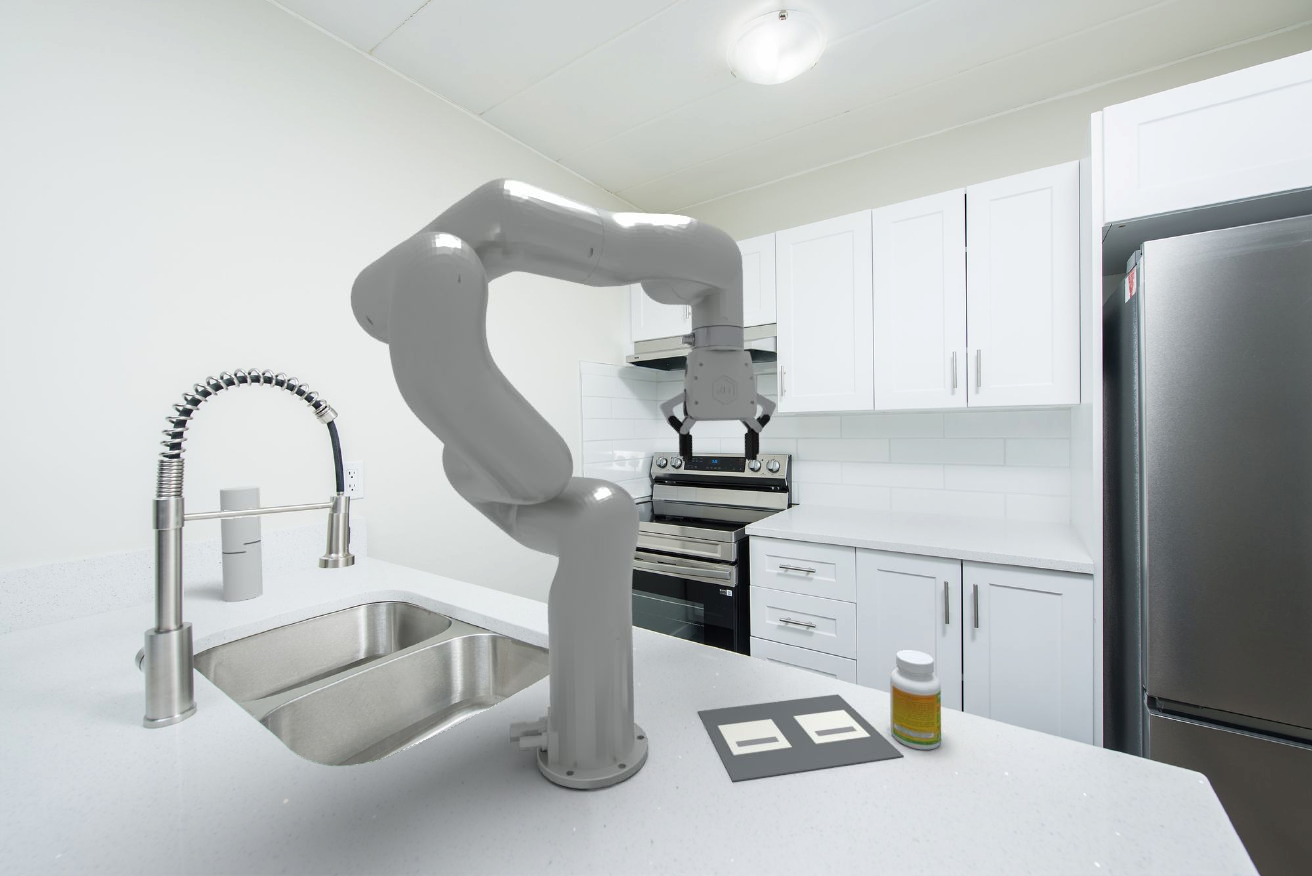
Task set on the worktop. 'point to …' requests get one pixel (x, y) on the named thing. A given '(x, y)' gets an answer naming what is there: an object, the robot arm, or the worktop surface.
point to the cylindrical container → (241, 545)
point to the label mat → (793, 737)
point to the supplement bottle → (915, 701)
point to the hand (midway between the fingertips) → (719, 460)
